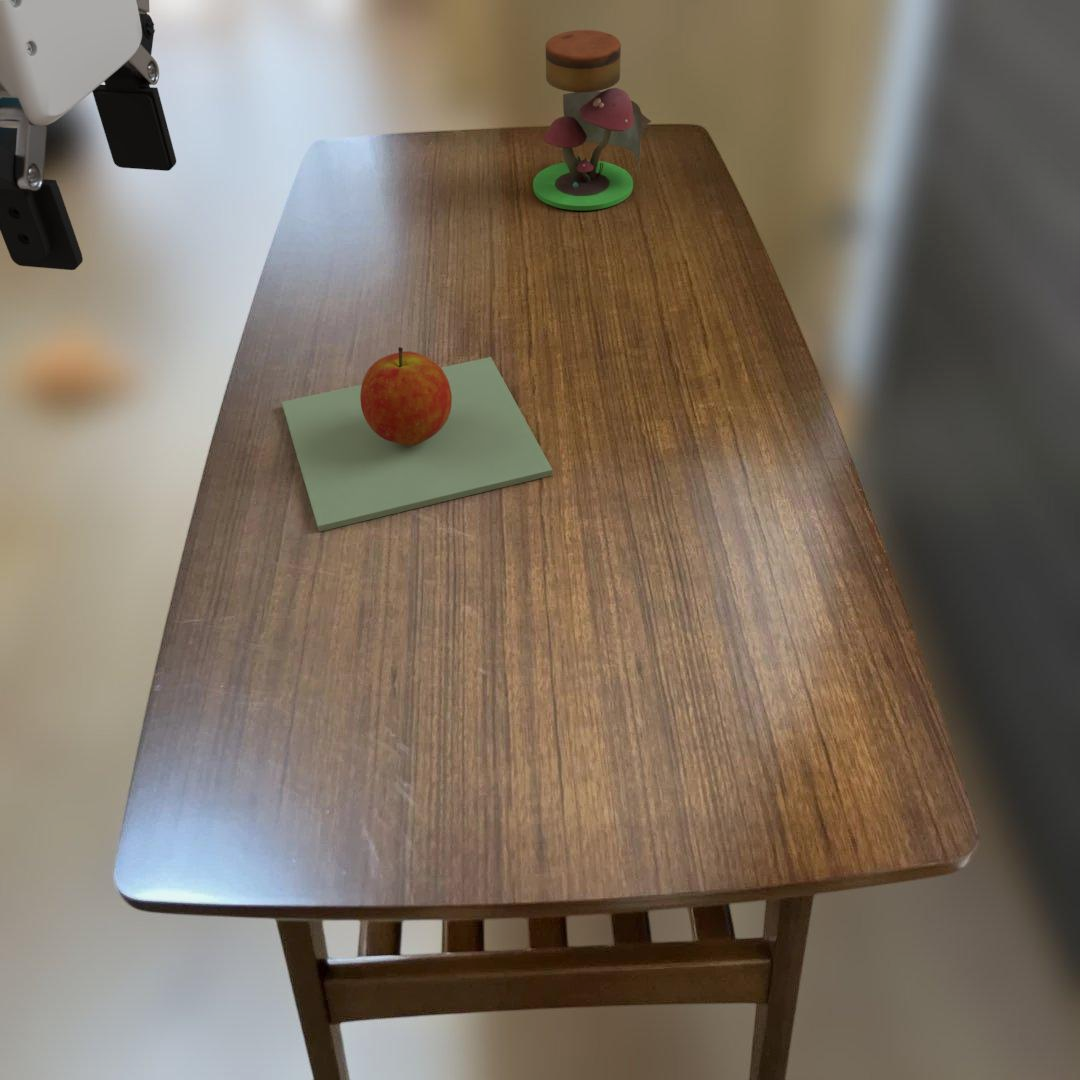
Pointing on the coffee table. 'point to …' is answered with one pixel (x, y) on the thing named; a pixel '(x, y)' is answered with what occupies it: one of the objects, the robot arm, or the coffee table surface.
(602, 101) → the mushroom figurine
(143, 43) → the robot arm
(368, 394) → the fruit
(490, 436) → the mat
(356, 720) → the coffee table surface
